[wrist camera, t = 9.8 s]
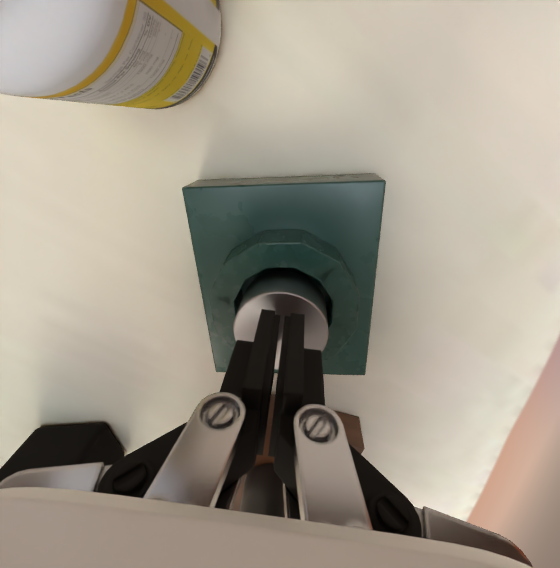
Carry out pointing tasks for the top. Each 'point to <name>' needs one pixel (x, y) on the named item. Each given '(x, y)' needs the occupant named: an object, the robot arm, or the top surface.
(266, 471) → the dial
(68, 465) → the robot arm
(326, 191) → the push button base
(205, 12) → the pill bottle
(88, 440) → the battery
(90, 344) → the top surface
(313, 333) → the push button
